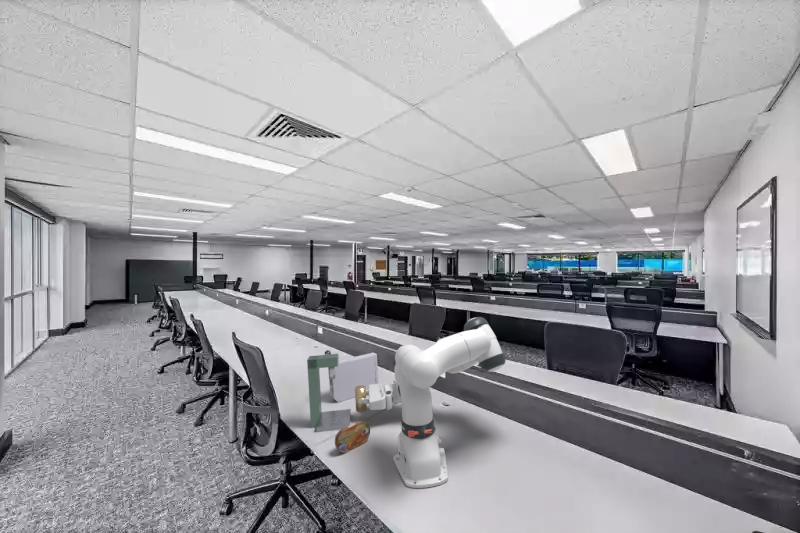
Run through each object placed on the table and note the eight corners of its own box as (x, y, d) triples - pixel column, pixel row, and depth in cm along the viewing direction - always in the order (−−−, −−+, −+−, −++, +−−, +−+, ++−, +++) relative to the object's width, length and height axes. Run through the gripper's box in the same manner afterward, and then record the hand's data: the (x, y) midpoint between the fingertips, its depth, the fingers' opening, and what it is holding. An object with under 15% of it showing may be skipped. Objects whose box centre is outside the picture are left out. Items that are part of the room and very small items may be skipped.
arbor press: (349, 428, 134) (345, 359, 134) (309, 432, 132) (305, 362, 132) (351, 406, 155) (348, 346, 154) (316, 410, 153) (313, 349, 152)
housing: (366, 411, 139) (365, 389, 139) (355, 412, 139) (354, 390, 139) (366, 406, 144) (365, 385, 144) (356, 407, 144) (354, 386, 144)
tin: (338, 457, 114) (337, 434, 114) (334, 453, 116) (332, 431, 116) (371, 440, 124) (370, 419, 124) (366, 437, 126) (365, 416, 126)
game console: (380, 389, 174) (378, 354, 174) (334, 404, 159) (332, 365, 159) (375, 386, 179) (373, 352, 179) (330, 400, 163) (328, 362, 163)
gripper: (386, 379, 153) (358, 382, 152) (390, 396, 133) (357, 400, 131) (387, 392, 153) (359, 395, 152) (391, 411, 133) (358, 415, 131)
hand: (358, 397), depth 141 cm, fingers closed on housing, 5 cm apart
